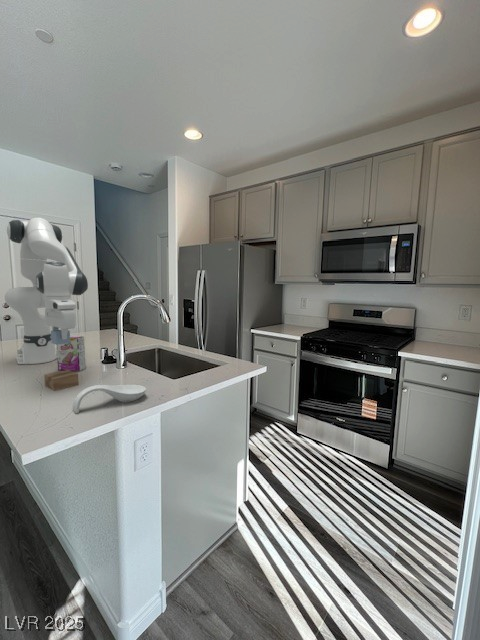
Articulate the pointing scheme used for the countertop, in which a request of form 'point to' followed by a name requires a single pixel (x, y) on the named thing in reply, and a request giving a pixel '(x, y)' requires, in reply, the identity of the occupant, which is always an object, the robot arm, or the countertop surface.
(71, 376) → the walnut block
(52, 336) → the slate blue cube
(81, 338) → the candy bar box
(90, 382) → the countertop surface
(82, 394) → the spoon rest
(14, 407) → the countertop surface
